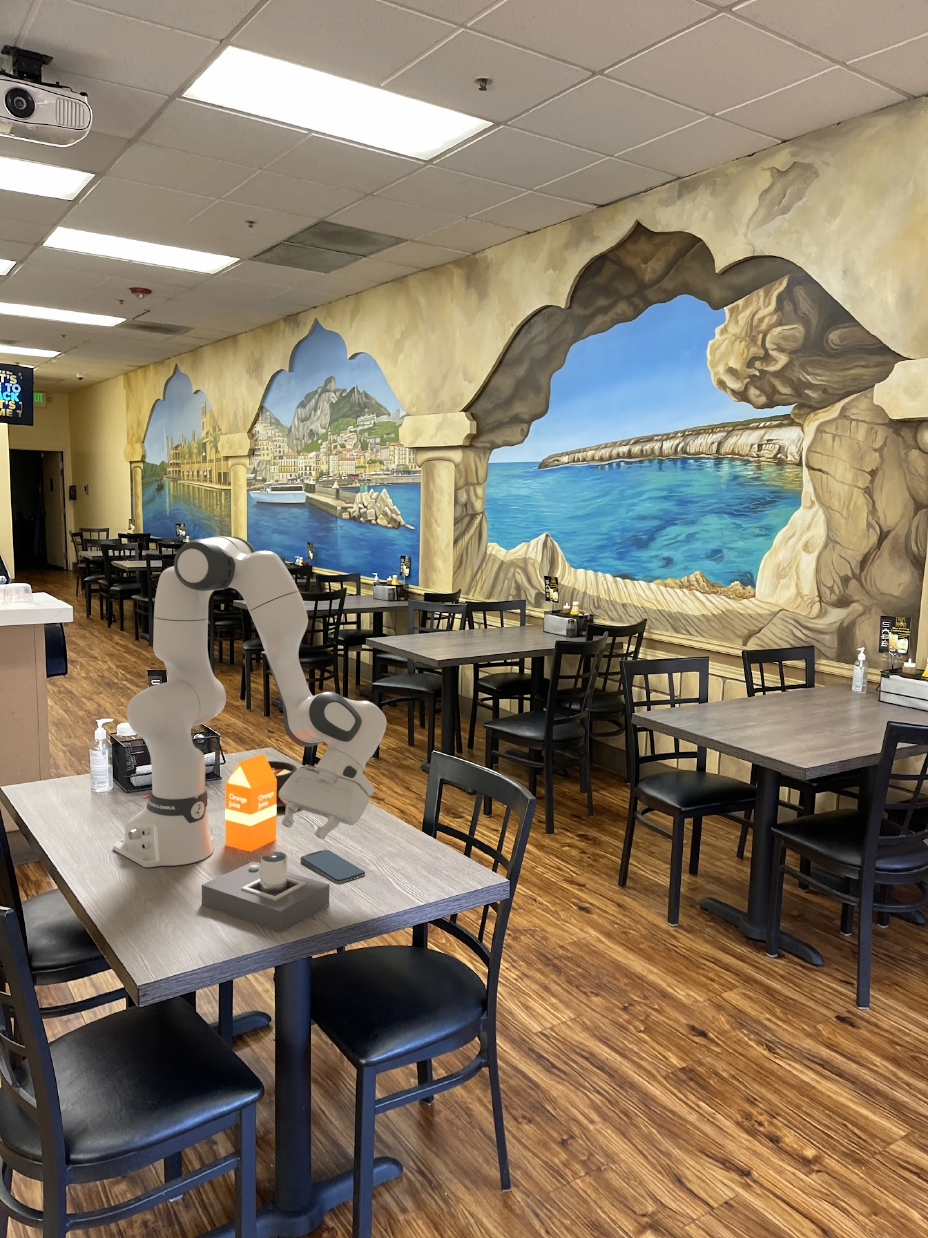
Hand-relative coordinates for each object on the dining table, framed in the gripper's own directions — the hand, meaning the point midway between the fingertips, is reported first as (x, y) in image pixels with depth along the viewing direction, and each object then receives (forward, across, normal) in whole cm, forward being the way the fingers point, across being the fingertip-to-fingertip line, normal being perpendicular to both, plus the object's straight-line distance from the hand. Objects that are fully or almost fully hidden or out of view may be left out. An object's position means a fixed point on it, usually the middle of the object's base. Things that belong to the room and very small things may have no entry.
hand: (301, 831), depth 171 cm
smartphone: (0, -4, +19) cm, 20 cm away
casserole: (-15, -49, +34) cm, 62 cm away
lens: (+14, 0, +4) cm, 15 cm away
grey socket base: (+15, -2, +4) cm, 15 cm away
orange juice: (+1, -29, +18) cm, 34 cm away
